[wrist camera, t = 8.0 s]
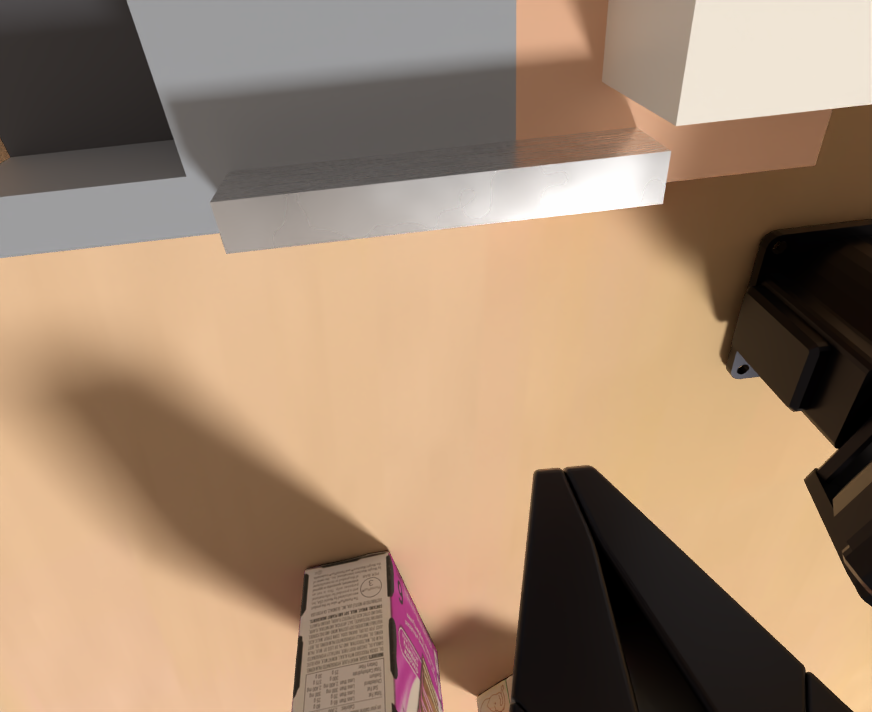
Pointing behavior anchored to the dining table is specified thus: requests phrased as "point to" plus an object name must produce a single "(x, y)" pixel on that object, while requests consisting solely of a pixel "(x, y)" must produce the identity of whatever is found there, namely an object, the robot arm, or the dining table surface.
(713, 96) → the cream block
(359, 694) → the candy bar box
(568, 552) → the robot arm
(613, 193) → the channel walls
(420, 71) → the grey piece
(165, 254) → the dining table surface
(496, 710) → the stack of blocks
